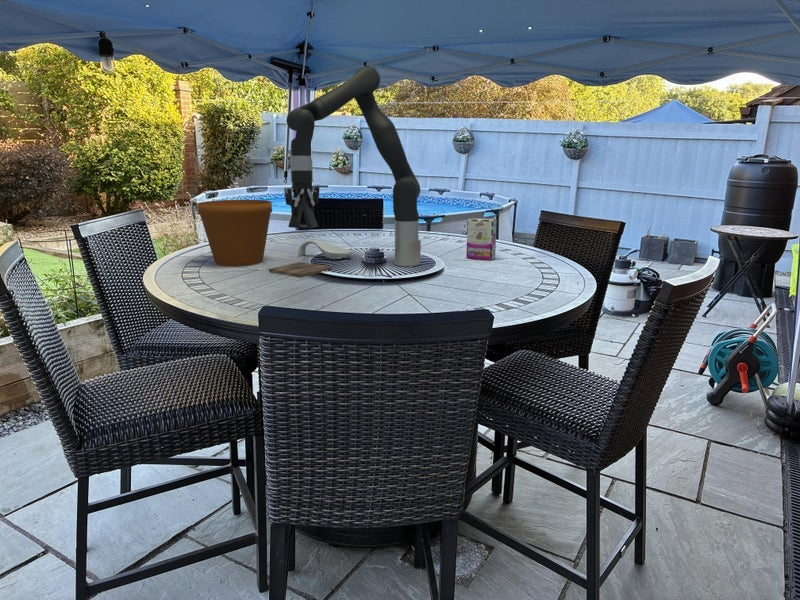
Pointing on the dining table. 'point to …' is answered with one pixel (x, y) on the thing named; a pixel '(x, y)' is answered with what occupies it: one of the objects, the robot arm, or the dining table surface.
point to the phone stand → (308, 214)
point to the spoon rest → (326, 249)
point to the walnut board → (299, 269)
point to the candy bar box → (481, 239)
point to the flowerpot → (236, 230)
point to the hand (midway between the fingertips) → (302, 216)
